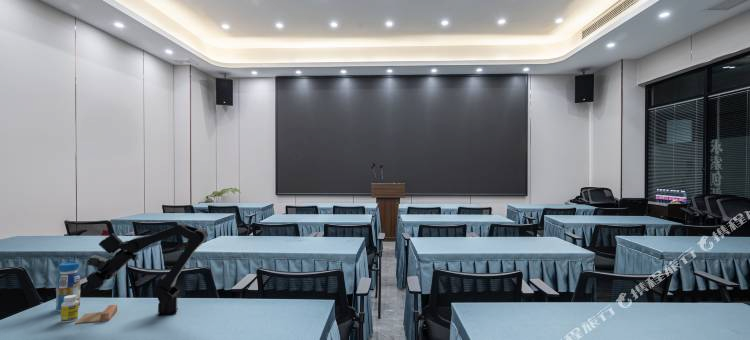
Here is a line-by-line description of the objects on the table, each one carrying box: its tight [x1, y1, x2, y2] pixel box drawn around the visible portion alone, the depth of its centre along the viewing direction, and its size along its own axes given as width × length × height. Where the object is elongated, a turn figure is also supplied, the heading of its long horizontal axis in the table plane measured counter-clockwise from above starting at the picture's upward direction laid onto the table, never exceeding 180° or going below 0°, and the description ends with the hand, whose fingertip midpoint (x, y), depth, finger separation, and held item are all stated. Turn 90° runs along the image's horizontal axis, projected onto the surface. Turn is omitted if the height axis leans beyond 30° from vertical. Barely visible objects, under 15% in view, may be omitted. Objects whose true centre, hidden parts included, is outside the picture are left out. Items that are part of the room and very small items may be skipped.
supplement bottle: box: [60, 295, 79, 324], centre depth 147 cm, size 5×5×10 cm
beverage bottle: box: [55, 261, 82, 313], centre depth 159 cm, size 8×8×20 cm
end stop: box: [74, 304, 118, 325], centre depth 150 cm, size 12×10×3 cm
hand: (85, 289), depth 149 cm, fingers open, 9 cm apart
